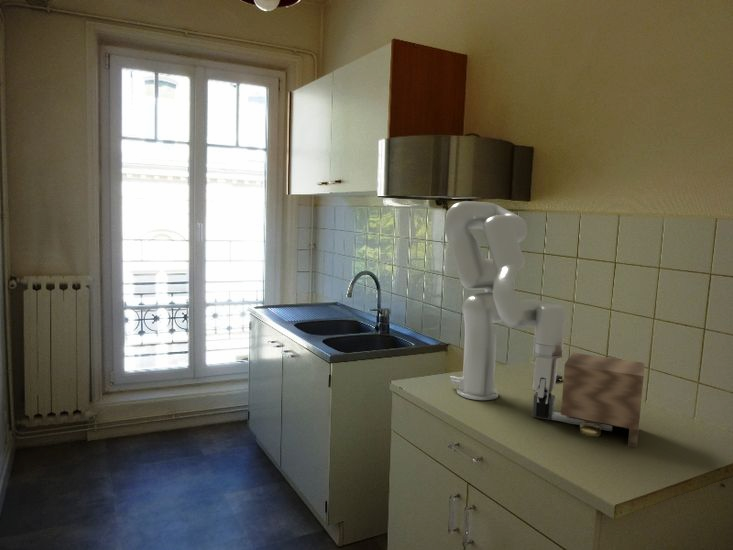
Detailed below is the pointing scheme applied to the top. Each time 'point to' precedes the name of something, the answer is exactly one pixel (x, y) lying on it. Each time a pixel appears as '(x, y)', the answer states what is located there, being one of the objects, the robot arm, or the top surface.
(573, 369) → the cabinet
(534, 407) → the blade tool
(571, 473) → the top surface
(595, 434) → the token
